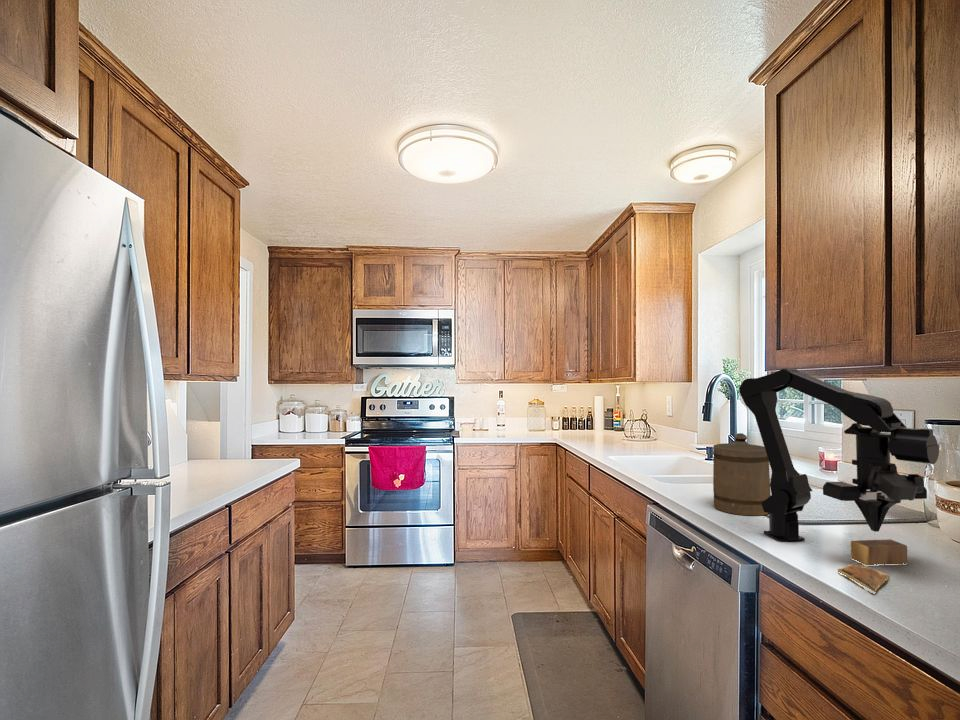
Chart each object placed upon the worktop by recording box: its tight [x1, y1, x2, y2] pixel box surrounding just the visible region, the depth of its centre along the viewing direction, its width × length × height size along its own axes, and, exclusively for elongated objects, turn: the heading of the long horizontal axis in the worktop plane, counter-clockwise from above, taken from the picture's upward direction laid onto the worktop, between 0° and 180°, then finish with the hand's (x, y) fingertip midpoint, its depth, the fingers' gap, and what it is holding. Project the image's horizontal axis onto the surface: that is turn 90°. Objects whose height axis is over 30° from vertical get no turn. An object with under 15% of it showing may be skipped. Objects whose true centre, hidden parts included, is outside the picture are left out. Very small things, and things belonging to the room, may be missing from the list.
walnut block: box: [850, 538, 909, 565], centre depth 109 cm, size 4×4×9 cm
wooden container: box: [712, 432, 771, 517], centre depth 151 cm, size 15×15×22 cm
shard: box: [837, 563, 890, 592], centre depth 100 cm, size 11×8×2 cm
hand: (875, 531), depth 109 cm, fingers closed
